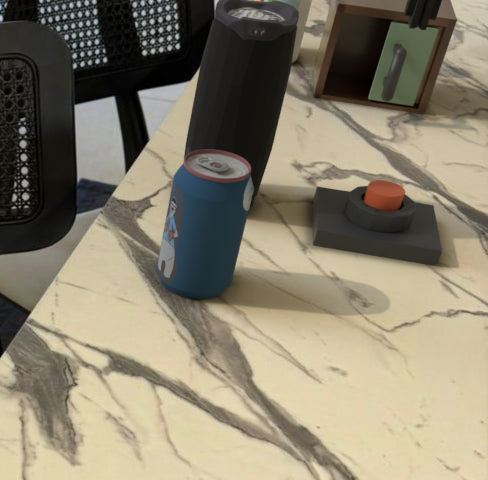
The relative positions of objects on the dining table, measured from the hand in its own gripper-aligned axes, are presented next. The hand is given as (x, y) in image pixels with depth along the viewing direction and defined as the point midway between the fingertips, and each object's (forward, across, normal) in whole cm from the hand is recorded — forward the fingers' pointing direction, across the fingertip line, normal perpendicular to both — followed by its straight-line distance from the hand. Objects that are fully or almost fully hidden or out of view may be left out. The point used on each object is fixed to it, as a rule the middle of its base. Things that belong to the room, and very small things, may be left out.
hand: (416, 24), depth 102 cm
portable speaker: (+17, -16, -11) cm, 26 cm away
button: (+13, 0, -12) cm, 18 cm away
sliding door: (+16, +3, +20) cm, 26 cm away
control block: (+17, 0, -12) cm, 21 cm away
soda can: (+17, -16, -29) cm, 37 cm away
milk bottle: (+17, -13, +36) cm, 42 cm away
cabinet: (+17, 0, +28) cm, 32 cm away
